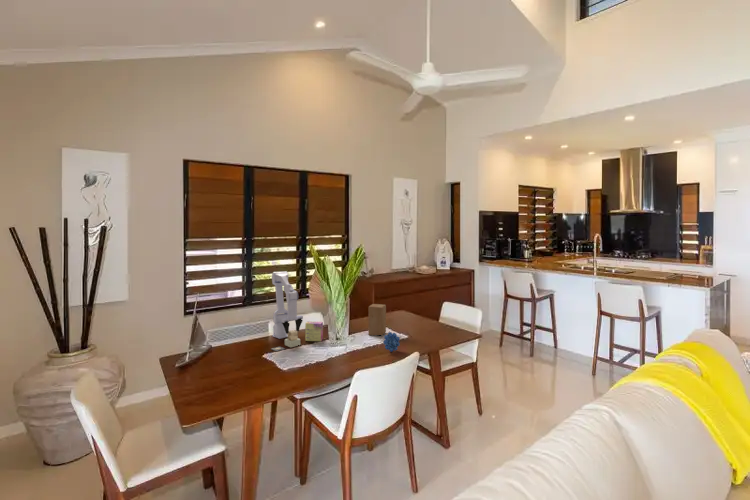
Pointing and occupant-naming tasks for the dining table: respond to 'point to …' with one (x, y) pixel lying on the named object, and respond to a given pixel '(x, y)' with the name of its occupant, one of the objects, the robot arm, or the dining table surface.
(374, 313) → the wooden block
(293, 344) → the grey-green pedestal
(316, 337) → the box
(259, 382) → the dining table surface
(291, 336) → the birch block
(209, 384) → the dining table surface
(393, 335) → the grapes
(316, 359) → the dining table surface
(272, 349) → the tile
